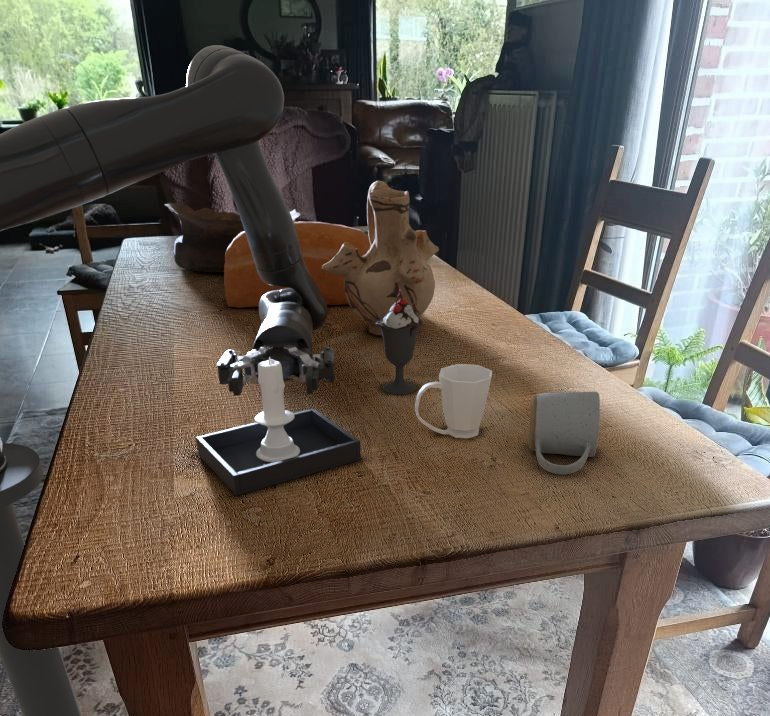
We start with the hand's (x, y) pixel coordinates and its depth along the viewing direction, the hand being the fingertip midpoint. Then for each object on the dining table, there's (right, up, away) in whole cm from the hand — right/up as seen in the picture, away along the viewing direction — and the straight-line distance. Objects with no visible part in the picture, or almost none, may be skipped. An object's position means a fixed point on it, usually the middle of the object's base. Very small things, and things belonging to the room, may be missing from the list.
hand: (272, 387), depth 82 cm
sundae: (+15, +4, +24) cm, 29 cm away
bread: (-4, +31, +69) cm, 76 cm away
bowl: (-24, +49, +100) cm, 114 cm away
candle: (0, -8, +4) cm, 9 cm away
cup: (+22, -4, +10) cm, 24 cm away
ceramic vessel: (+14, +18, +48) cm, 54 cm away
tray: (0, -8, +4) cm, 9 cm away
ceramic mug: (+35, -8, +4) cm, 36 cm away
